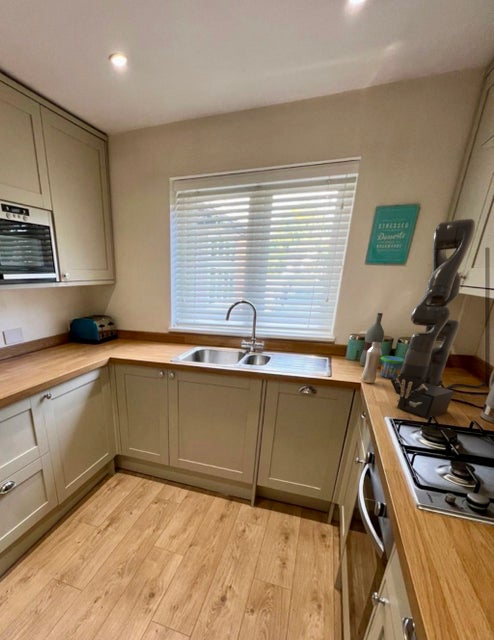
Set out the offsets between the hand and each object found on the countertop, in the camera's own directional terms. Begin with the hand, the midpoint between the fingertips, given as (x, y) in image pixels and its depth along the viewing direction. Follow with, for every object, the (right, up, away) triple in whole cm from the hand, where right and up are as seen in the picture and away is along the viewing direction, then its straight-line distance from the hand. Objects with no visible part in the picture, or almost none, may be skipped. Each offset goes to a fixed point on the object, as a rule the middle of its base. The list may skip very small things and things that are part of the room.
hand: (402, 406), depth 125 cm
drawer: (+9, -1, +5) cm, 10 cm away
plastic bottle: (+9, +11, +39) cm, 42 cm away
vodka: (+25, +22, +68) cm, 76 cm away
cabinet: (+13, -2, +8) cm, 15 cm away
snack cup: (+25, +14, +48) cm, 56 cm away
